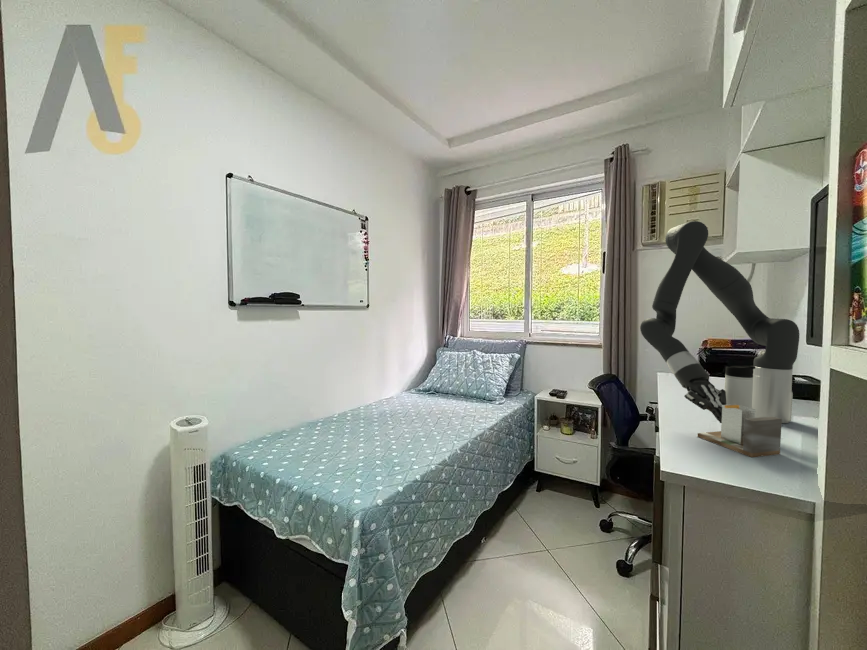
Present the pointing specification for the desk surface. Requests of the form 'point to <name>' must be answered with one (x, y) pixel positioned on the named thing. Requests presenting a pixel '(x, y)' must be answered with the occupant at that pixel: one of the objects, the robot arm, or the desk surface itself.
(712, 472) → the desk surface
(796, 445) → the desk surface
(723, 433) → the white card box
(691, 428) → the desk surface
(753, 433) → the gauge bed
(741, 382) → the travel mug
